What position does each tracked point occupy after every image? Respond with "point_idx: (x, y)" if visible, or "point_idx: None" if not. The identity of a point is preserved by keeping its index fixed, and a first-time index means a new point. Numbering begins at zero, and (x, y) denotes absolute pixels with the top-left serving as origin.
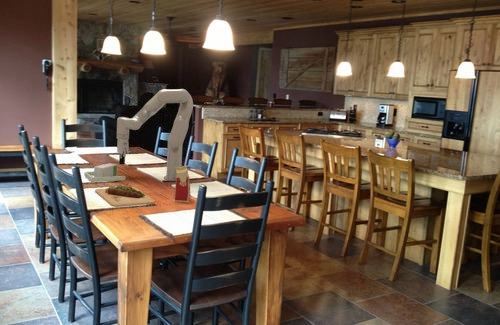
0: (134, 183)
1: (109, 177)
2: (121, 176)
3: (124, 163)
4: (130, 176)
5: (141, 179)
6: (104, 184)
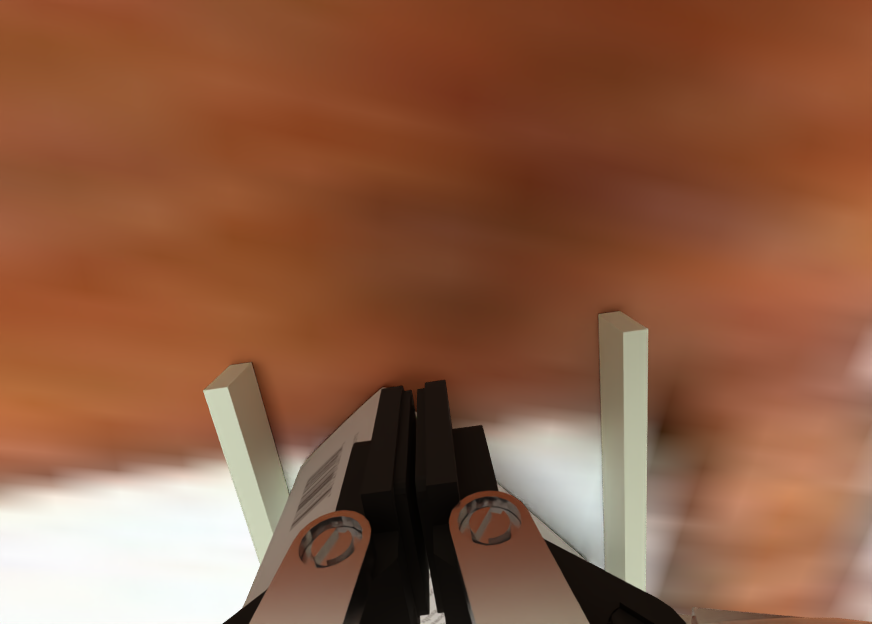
0: (849, 221)
1: (643, 526)
2: (647, 384)
3: (445, 393)
4: (386, 190)
5: (628, 46)
6: (770, 552)
